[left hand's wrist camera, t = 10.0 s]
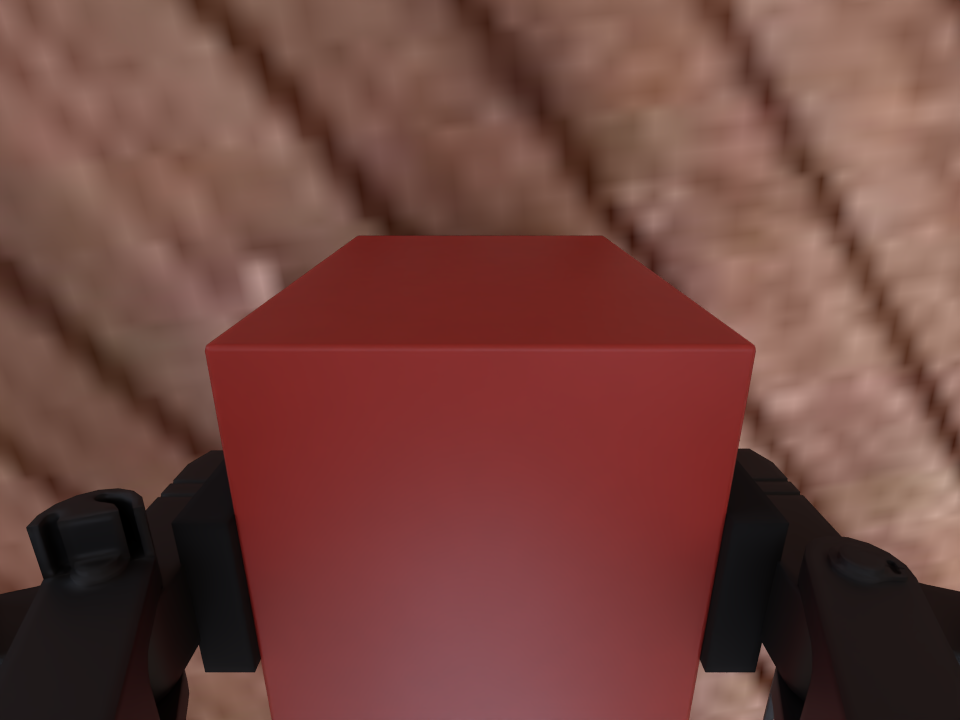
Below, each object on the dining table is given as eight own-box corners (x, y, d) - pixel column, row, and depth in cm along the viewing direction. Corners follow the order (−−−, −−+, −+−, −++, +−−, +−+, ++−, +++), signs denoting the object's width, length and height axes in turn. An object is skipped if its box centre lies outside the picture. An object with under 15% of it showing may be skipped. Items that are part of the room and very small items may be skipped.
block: (374, 478, 18) (279, 775, 10) (355, 235, 16) (200, 345, 7) (585, 478, 18) (680, 776, 10) (604, 235, 16) (760, 346, 7)
